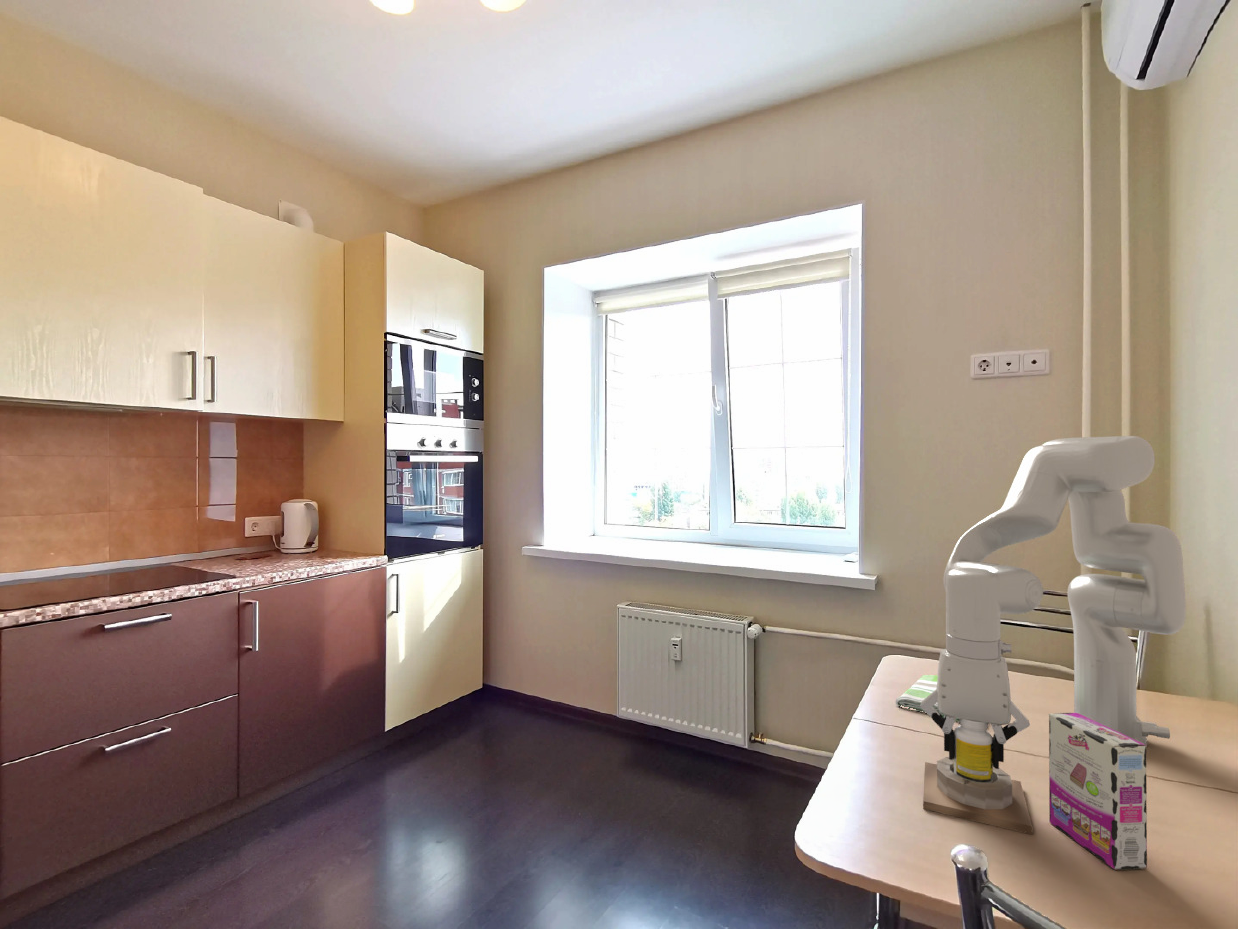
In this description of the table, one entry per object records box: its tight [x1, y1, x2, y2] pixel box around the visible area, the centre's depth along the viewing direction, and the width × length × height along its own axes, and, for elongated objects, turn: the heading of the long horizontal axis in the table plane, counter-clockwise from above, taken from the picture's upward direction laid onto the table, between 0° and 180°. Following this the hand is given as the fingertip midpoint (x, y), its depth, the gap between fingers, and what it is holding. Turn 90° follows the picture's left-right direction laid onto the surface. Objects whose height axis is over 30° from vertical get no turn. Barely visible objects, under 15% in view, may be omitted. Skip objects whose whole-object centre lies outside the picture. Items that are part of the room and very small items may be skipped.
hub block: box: [922, 756, 1033, 835], centre depth 96 cm, size 14×14×4 cm
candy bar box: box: [1048, 712, 1148, 871], centre depth 84 cm, size 11×5×16 cm, turn 5°
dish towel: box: [895, 674, 959, 723], centre depth 136 cm, size 17×23×4 cm
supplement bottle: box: [953, 718, 993, 783], centre depth 96 cm, size 5×5×10 cm
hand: (973, 759), depth 96 cm, fingers closed on supplement bottle, 5 cm apart
